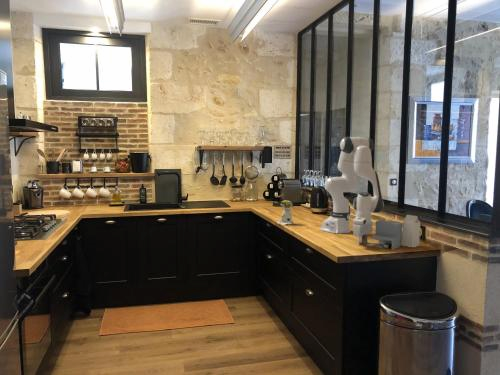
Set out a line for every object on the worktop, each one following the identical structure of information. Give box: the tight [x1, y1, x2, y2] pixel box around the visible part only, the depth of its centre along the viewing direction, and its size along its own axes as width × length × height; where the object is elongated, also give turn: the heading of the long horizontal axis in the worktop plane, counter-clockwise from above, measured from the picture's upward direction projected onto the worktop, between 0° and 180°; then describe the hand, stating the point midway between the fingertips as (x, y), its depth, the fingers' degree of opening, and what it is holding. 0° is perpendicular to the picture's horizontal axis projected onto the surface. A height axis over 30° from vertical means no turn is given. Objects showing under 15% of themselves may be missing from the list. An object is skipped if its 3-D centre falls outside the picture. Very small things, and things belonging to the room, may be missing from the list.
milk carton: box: [401, 214, 421, 249], centre depth 244 cm, size 7×7×19 cm
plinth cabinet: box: [370, 219, 403, 250], centre depth 245 cm, size 14×13×14 cm
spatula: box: [358, 234, 390, 249], centre depth 245 cm, size 17×4×6 cm, turn 61°
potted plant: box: [277, 199, 294, 226], centre depth 314 cm, size 12×13×18 cm
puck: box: [376, 245, 385, 250], centre depth 240 cm, size 4×4×2 cm
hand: (362, 241), depth 248 cm, fingers closed on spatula, 4 cm apart
